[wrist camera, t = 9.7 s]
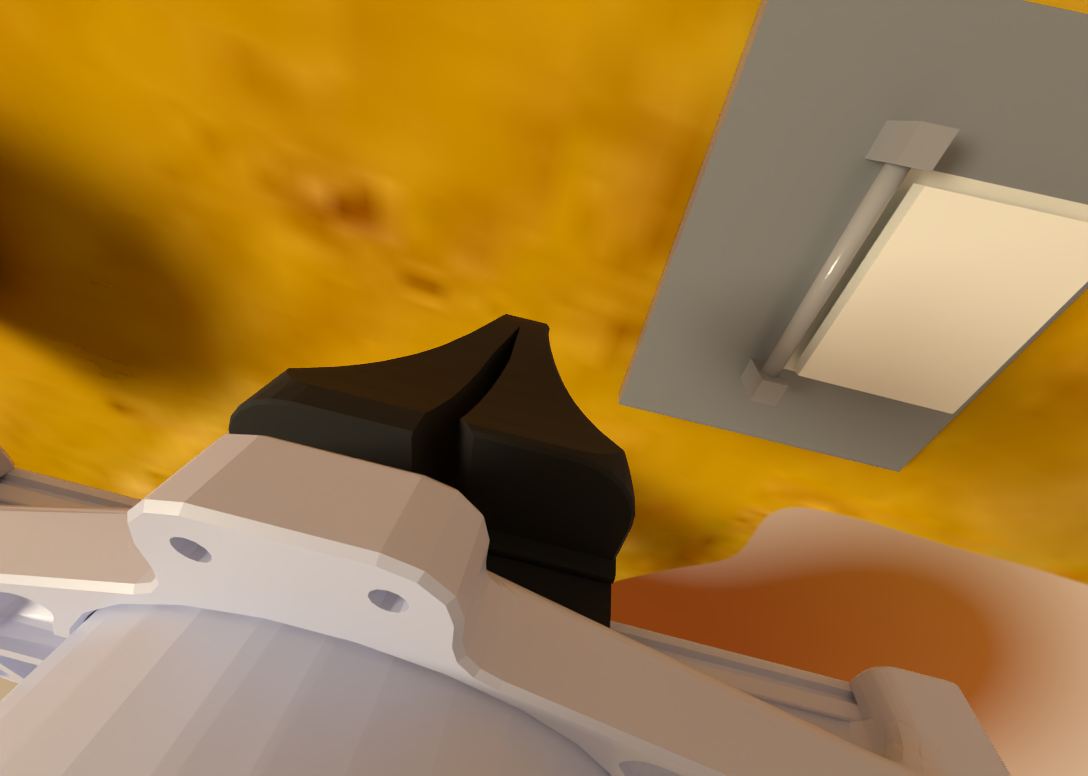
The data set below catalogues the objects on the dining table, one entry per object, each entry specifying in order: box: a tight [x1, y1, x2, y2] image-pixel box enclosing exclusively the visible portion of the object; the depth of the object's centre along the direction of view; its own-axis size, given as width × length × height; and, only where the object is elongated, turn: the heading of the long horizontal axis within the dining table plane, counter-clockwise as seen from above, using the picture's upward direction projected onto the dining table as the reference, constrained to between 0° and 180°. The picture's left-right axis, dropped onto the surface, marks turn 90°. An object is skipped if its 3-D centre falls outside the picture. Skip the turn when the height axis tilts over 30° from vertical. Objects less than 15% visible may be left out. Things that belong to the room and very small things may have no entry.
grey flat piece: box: [619, 0, 1088, 472], centre depth 17 cm, size 18×16×3 cm
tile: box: [793, 183, 1088, 414], centre depth 16 cm, size 8×7×1 cm
